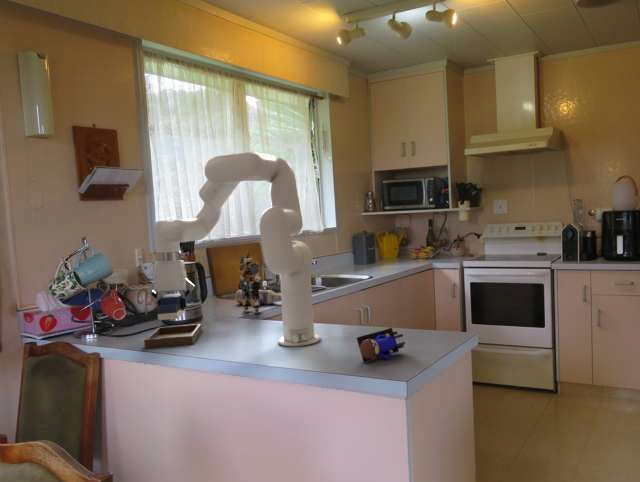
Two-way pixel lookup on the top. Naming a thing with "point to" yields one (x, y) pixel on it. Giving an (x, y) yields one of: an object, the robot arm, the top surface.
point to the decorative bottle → (260, 297)
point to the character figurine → (379, 344)
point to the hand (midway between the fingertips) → (172, 310)
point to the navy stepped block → (170, 307)
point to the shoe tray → (173, 336)
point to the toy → (250, 284)
